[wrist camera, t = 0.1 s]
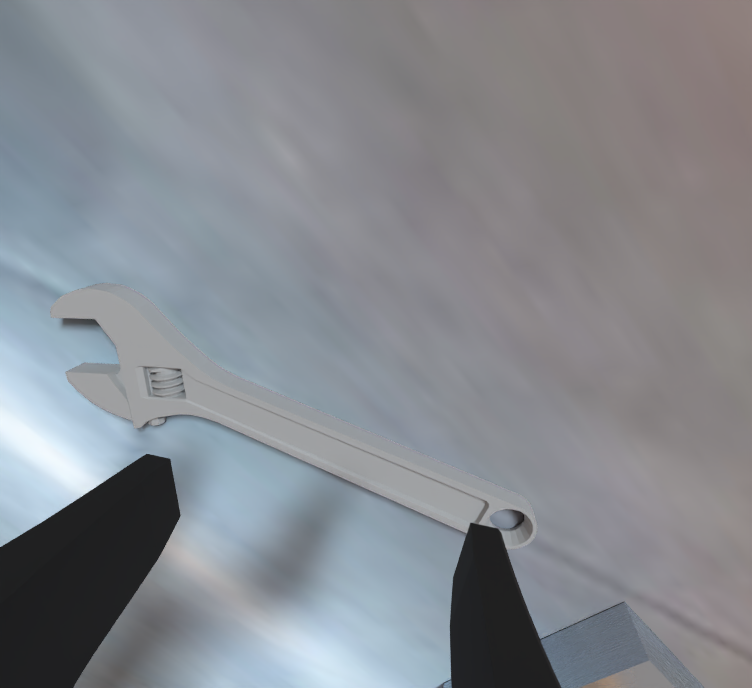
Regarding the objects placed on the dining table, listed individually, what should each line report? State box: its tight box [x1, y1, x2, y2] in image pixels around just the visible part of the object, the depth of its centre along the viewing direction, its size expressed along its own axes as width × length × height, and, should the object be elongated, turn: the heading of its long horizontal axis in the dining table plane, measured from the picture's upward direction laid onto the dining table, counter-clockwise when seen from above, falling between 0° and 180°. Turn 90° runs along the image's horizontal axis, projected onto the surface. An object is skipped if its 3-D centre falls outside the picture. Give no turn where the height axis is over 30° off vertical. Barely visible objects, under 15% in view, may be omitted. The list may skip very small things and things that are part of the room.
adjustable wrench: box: [50, 283, 537, 549], centre depth 22 cm, size 25×6×2 cm, turn 64°
